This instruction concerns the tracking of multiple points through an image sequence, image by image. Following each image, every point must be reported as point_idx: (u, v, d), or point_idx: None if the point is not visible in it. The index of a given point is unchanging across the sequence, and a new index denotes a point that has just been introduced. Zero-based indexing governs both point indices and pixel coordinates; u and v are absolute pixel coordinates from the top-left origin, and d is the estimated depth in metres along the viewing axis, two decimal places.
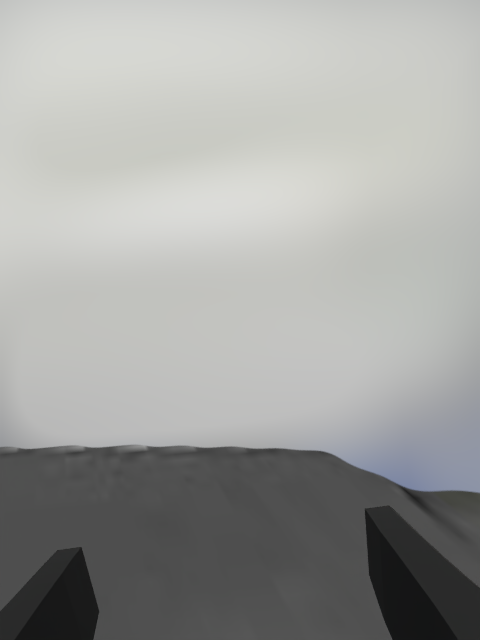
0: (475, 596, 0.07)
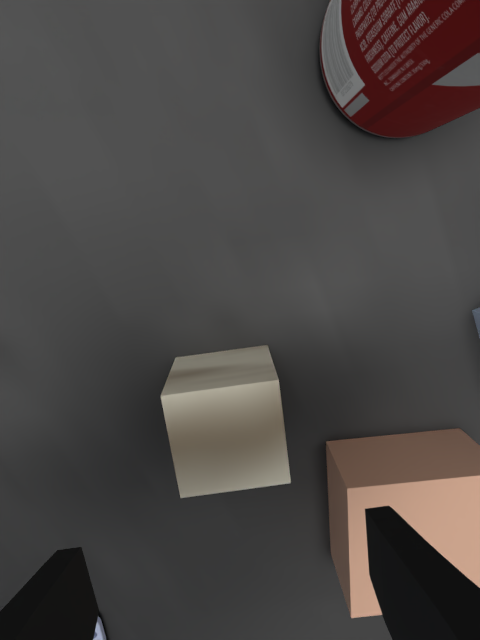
0: (475, 596, 0.07)
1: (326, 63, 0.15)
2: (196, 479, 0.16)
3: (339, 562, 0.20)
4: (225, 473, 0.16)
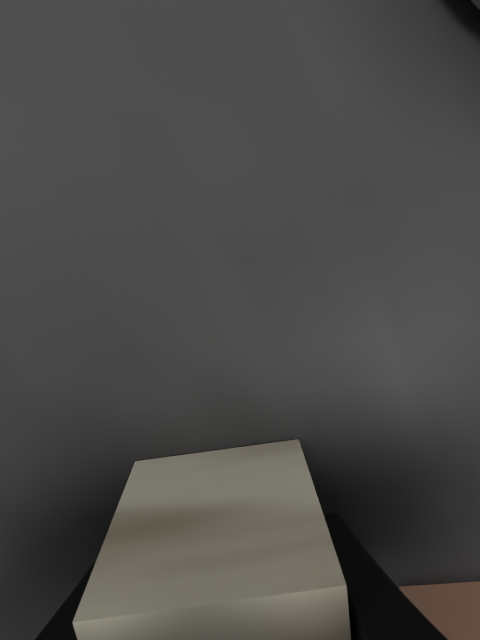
0: (400, 606, 0.07)
1: None
2: None
3: None
4: None
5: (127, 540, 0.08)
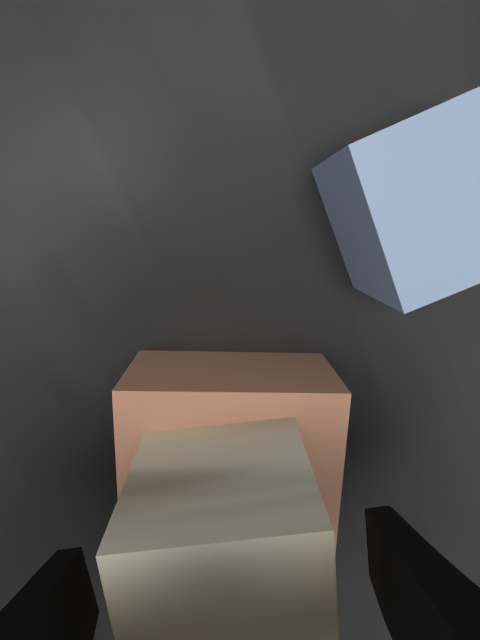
0: (475, 596, 0.07)
1: None
2: None
3: None
4: None
5: (140, 495, 0.09)
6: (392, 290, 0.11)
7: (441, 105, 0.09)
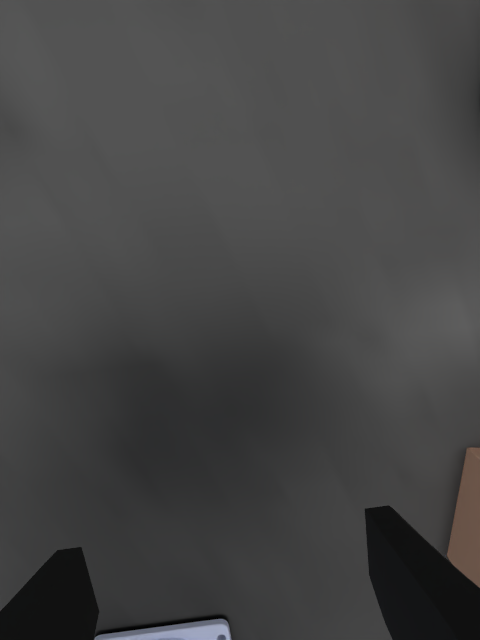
0: (475, 596, 0.07)
1: None
2: None
3: (469, 564, 0.21)
4: None
5: None
6: None
7: None
